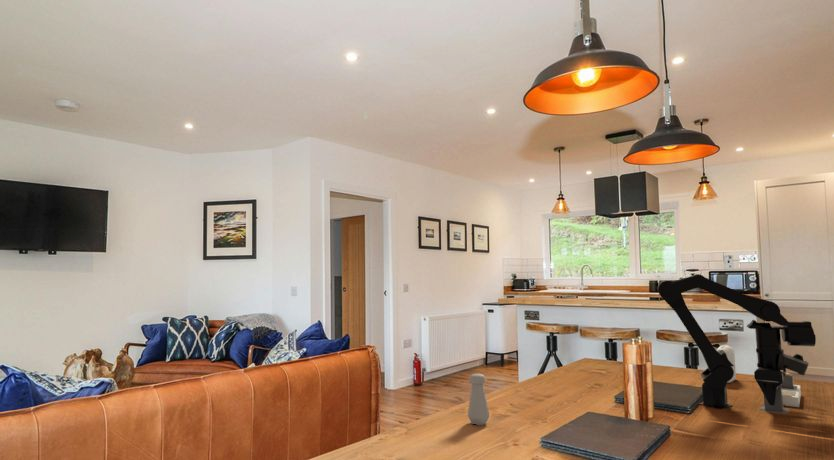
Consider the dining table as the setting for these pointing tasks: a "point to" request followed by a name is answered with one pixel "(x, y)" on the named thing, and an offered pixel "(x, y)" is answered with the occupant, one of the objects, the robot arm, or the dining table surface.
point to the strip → (790, 391)
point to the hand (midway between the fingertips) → (773, 401)
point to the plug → (778, 402)
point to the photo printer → (729, 358)
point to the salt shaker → (478, 400)
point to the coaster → (774, 411)
